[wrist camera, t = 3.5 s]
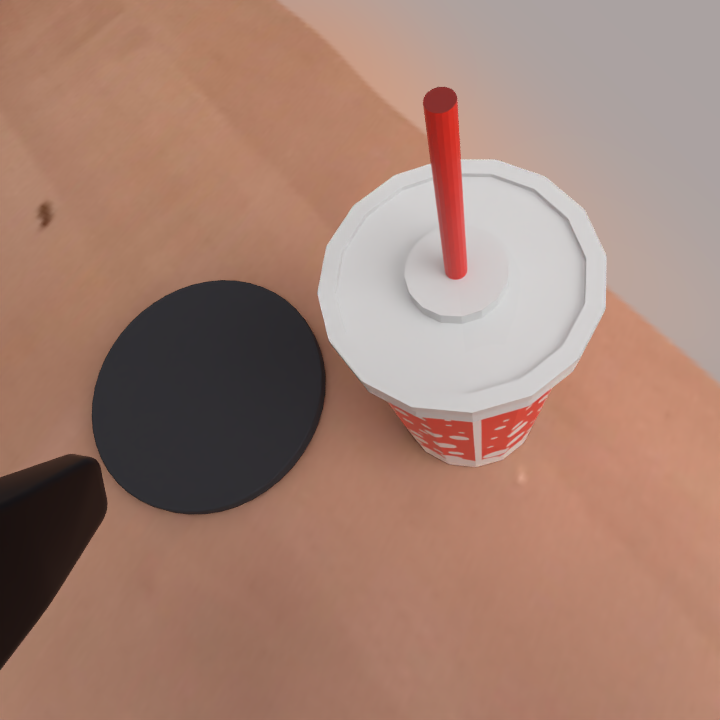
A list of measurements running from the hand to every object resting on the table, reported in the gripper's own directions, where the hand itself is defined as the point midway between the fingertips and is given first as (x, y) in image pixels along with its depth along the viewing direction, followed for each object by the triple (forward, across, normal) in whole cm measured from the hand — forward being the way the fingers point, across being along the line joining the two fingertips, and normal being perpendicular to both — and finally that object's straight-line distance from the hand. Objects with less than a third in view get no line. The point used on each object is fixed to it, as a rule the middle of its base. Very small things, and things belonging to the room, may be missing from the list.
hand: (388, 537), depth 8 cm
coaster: (+12, +10, +5) cm, 16 cm away
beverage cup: (+13, 0, +5) cm, 14 cm away
